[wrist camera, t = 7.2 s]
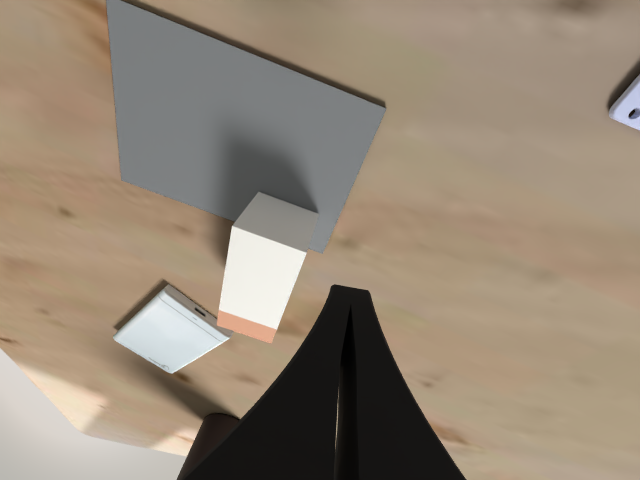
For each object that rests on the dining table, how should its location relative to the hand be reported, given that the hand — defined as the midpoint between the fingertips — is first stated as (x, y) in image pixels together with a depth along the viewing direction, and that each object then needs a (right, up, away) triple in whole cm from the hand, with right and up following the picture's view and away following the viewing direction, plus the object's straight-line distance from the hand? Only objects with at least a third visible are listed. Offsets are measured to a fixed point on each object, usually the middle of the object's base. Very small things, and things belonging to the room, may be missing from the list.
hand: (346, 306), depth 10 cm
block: (-4, +4, +7) cm, 9 cm away
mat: (-6, +9, +8) cm, 13 cm away
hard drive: (-17, -7, +21) cm, 28 cm away
